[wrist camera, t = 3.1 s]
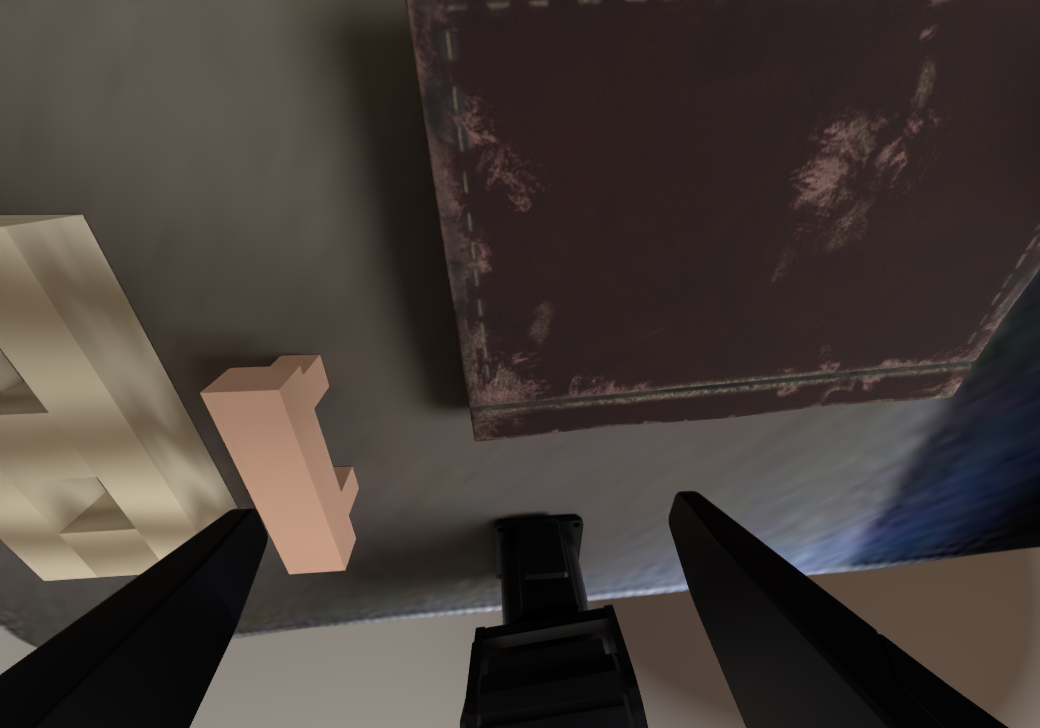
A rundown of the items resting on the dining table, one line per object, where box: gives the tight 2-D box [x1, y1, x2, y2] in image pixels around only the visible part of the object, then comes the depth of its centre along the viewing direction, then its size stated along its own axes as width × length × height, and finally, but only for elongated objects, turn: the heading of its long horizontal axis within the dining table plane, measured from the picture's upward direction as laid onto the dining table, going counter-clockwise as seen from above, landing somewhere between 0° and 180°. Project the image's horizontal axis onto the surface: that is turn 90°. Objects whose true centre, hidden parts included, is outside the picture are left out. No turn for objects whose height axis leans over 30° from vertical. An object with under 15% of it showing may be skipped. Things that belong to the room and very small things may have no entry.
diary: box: [405, 0, 1040, 442], centre depth 17 cm, size 19×25×5 cm
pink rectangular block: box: [200, 355, 359, 574], centre depth 20 cm, size 12×3×5 cm, turn 0°
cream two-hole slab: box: [0, 215, 237, 581], centre depth 19 cm, size 20×10×3 cm, turn 0°
